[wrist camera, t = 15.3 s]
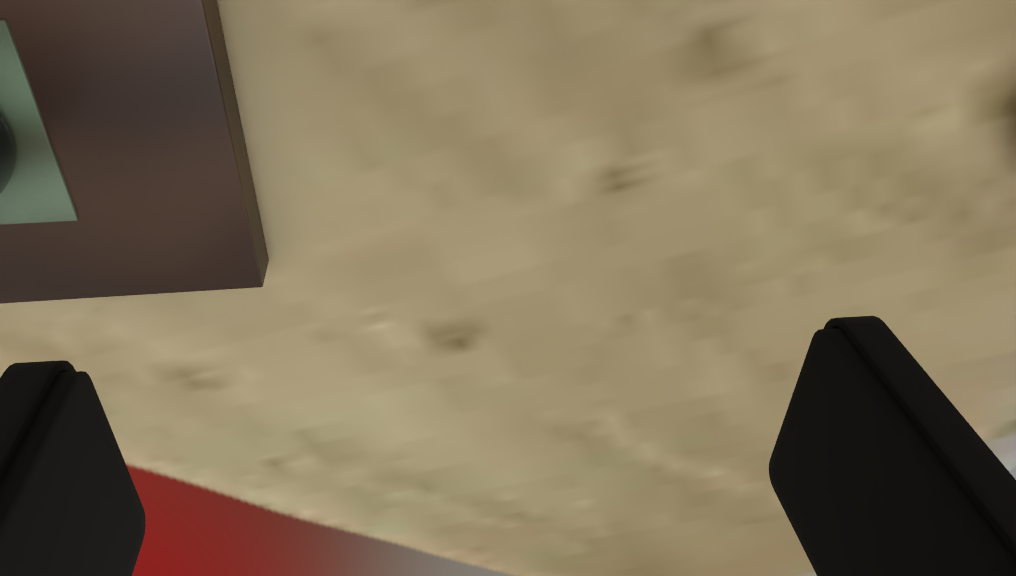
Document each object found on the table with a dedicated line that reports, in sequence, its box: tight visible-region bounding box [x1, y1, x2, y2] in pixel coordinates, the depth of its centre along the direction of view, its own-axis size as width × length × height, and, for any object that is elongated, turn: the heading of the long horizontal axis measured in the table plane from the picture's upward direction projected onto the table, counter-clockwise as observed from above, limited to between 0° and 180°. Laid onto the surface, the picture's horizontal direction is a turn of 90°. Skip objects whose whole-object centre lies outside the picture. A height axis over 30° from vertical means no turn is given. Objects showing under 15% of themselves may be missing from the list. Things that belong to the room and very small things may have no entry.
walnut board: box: [0, 0, 269, 303], centre depth 32 cm, size 22×18×3 cm
